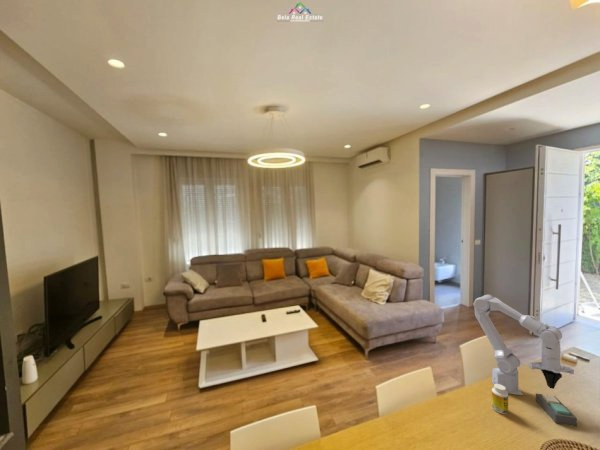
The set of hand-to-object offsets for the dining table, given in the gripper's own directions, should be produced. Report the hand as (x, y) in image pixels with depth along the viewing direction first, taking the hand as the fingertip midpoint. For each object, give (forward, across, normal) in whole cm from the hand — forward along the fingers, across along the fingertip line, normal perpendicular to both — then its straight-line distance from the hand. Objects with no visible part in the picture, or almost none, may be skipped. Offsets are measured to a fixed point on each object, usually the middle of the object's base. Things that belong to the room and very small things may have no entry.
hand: (550, 386), depth 108 cm
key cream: (+7, 0, 0) cm, 7 cm away
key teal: (+7, 0, -5) cm, 9 cm away
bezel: (+9, 0, -3) cm, 10 cm away
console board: (+9, 0, -3) cm, 10 cm away
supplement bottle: (+10, -21, -6) cm, 24 cm away
